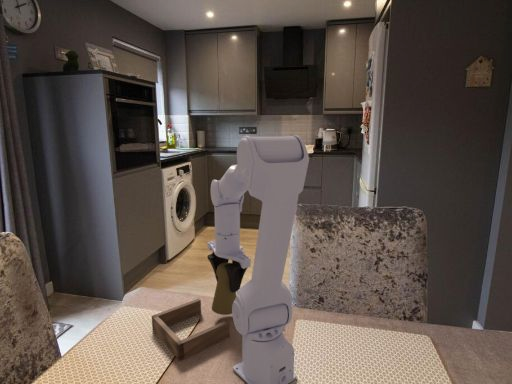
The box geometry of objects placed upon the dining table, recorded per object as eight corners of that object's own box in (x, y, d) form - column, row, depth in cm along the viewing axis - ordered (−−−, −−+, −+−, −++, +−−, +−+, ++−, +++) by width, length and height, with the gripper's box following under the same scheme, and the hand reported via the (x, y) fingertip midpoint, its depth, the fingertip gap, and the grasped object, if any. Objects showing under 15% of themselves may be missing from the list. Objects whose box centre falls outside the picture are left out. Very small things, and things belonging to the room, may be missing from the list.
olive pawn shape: (238, 303, 83) (242, 261, 81) (234, 316, 77) (239, 270, 75) (214, 300, 83) (217, 258, 82) (209, 312, 77) (212, 267, 76)
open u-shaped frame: (229, 336, 74) (229, 322, 73) (179, 360, 66) (178, 344, 65) (199, 311, 83) (198, 298, 83) (152, 329, 76) (151, 315, 75)
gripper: (261, 236, 74) (260, 292, 77) (223, 221, 85) (224, 271, 88) (235, 243, 70) (236, 303, 72) (199, 226, 80) (201, 279, 83)
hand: (228, 286), depth 80 cm, fingers closed on olive pawn shape, 5 cm apart
